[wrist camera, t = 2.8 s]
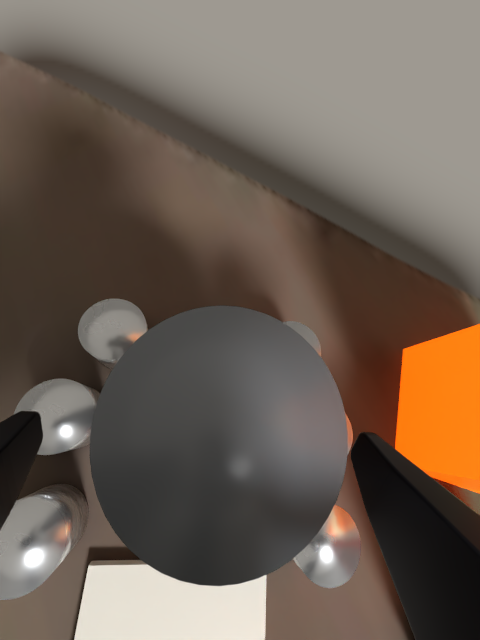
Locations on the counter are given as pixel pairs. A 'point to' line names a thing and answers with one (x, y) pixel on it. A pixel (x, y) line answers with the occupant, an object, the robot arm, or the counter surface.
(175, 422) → the grey tall cylinder
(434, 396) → the orange juice
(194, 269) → the counter surface
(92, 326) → the spacer posts
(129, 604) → the mat
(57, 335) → the counter surface
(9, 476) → the robot arm
